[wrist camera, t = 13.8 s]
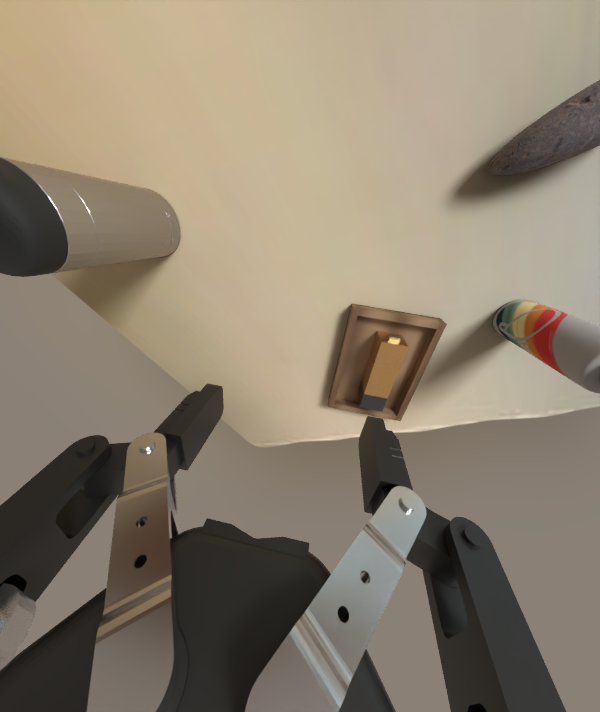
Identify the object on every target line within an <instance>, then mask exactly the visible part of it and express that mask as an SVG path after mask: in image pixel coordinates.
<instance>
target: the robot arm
mask: <svg viewBox="0 0 600 712" xmlns="http://www.w3.org/2000/svg"><path fill="white" fill-rule="evenodd" d="M179 240H180V227H179V222H178V219H177V216H176V214H175V212H174V210H173V209H172V207H171V206H170V204H169V203H168V202H167V201H166V200H165V199H164V198H163V197H162V196H161V195H159V194H158V193H156V192H154V191H152V190H149V189H145V188H140V187H136V186H131V185H127V184H122V183H118V182H113V181H109V180H104V179H100V178H95V177H90V176H86V175H81V174H77V173H72V172H68V171H63V170H59V169H54V168H49V167H45V166H40V165H36V164H30V163H26V162H21V161H16V160H12V159H7V158H3V157H0V273H3V274H7V275H11V276H22V277H24V276H36V275H42V274H49V273H56V272H63V271H70V270H76V269H82V268H89V267H96V266H103V265H110V264H116V263H123V262H130V261H137V260H144V259H151V258H158V257H165V256H168V255H170V254H172V253H173V252H174V251H175V250H176V248H177V246H178V244H179ZM222 413H223V389H222V386H218V385H213V384H207V385H205V387H204V388H203V389H202V390H201V391H200V392H199V391H195V392H193V393H191V394H190V395H188V396H187V397H186V398H185V399H184V400H183V401H182V402H181V404H179V405H178V406H177V408H175V410H174V411H173V412H172V413H171V414H170V415H169V416H168V417H167V418H166V419H165V420H164V422H163V423H162V424H161V425H160V426H159V427H158V428H157V429H156V430H155V431H154V432H153V433H147V434H144V435H142V436H140V437H138V438H136V439H135V440H134V441H132V442H131V443H117V444H109V442H108V440H107V438H105V437H104V436H100V435H95V436H89V437H86V438H83V439H80V440H79V441H77V442H75V443H73V444H72V445H71V446H69V447H68V448H67V449H66V450H65V451H64V452H62V453H61V454H60V455H59V456H58V457H57V458H55V459H54V460H53V461H52V462H51V463H50V464H48V465H47V466H46V467H45V468H44V469H43V470H41V471H40V472H39V473H38V474H37V475H36V476H34V477H33V478H32V479H31V480H30V481H29V482H27V483H26V484H25V485H24V486H23V487H22V488H20V489H19V490H18V491H17V492H16V493H15V494H13V495H12V496H11V497H10V498H9V499H8V500H7V501H5V502H4V503H3V504H2V505H1V506H0V712H396V711H395V709H394V707H393V705H392V703H391V701H390V699H389V696H388V694H387V692H386V690H385V688H384V686H383V683H382V682H381V679H380V677H379V675H378V673H377V671H376V668H375V666H374V664H373V662H372V660H371V658H370V656H369V654H368V651H367V649H366V648H367V646H368V643H369V641H370V639H371V637H372V635H373V633H374V631H375V629H376V627H377V625H378V622H379V620H380V618H381V616H382V614H383V612H384V610H385V608H386V606H387V603H388V601H389V599H390V597H391V595H392V593H393V591H394V588H395V587H396V585H397V582H398V580H399V578H400V576H401V574H402V572H403V569H404V567H405V560H406V559H407V560H408V561H410V562H411V563H413V564H415V565H416V566H418V567H419V568H421V569H422V570H423V575H424V579H425V584H426V589H427V594H428V599H429V604H430V609H431V614H432V619H433V624H434V629H435V634H436V639H437V644H438V649H439V654H440V659H441V664H442V669H443V674H444V679H445V684H446V689H447V694H448V699H449V704H450V709H451V712H566V710H565V708H564V706H563V703H562V701H561V699H560V697H559V694H558V692H557V690H556V688H555V685H554V683H553V681H552V679H551V676H550V674H549V672H548V669H547V667H546V665H545V663H544V660H543V659H542V656H541V654H540V651H539V649H538V647H537V645H536V642H535V640H534V638H533V636H532V633H531V631H530V629H529V626H528V624H527V622H526V620H525V617H524V615H523V613H522V611H521V608H520V606H519V604H518V602H517V599H516V597H515V595H514V593H513V590H512V588H511V586H510V583H509V581H508V579H507V577H506V574H505V572H504V570H503V568H502V566H501V563H500V561H499V559H498V556H497V554H496V552H495V550H494V547H493V545H492V543H491V541H490V539H489V538H488V536H487V535H486V534H485V532H484V531H483V530H482V529H481V528H480V527H479V526H477V525H476V524H475V523H473V522H472V521H470V520H468V519H466V518H463V517H455V518H453V519H452V520H451V521H449V520H447V519H445V518H443V517H442V516H440V515H438V514H436V513H434V512H432V511H431V510H429V509H428V508H426V507H425V505H424V503H423V501H422V500H421V499H420V497H419V496H418V495H417V494H416V493H415V492H413V489H412V486H411V483H410V479H409V475H408V472H407V468H406V465H405V462H404V459H403V454H402V452H401V447H400V444H399V440H398V439H397V438H396V436H395V435H394V433H393V432H392V431H388V430H386V428H385V424H384V420H383V419H380V418H375V417H370V416H368V417H367V419H366V421H365V424H364V427H363V429H362V432H361V435H360V438H359V456H360V467H361V478H362V488H363V500H364V510H365V512H367V513H372V515H373V517H372V519H371V520H370V521H369V523H368V524H367V525H366V526H365V527H364V528H363V530H362V531H361V533H360V534H359V535H358V537H357V538H356V540H355V541H354V542H353V544H352V545H351V547H350V548H349V550H348V551H347V552H346V554H345V555H344V557H343V558H342V560H341V561H340V562H339V564H338V565H337V567H336V568H335V570H334V571H333V572H332V574H330V572H329V571H328V569H327V568H326V567H325V566H324V564H323V563H322V562H321V561H320V560H319V559H318V558H316V557H315V556H314V555H313V554H311V553H310V552H308V549H309V543H307V542H303V541H298V540H294V539H290V538H286V537H275V538H261V539H255V538H253V537H251V536H249V535H248V534H246V533H245V532H243V531H241V530H240V529H238V528H237V527H235V526H233V525H232V524H228V523H223V522H220V521H216V520H211V519H207V520H206V522H205V524H204V526H203V527H197V528H193V529H190V530H187V531H184V532H182V533H181V532H180V524H179V518H178V509H177V497H176V485H175V477H174V476H175V474H176V473H177V471H178V470H179V469H183V470H188V469H189V467H190V465H191V464H192V462H193V461H194V459H195V458H196V456H197V454H198V453H199V451H200V450H201V448H202V446H203V445H204V443H205V442H206V440H207V439H208V437H209V435H210V434H211V432H212V430H213V429H214V427H215V425H216V424H217V423H218V421H219V419H220V418H221V416H222ZM117 495H118V498H117V503H116V511H115V519H114V529H113V537H112V545H111V553H110V562H109V570H108V580H107V588H105V589H104V590H103V591H101V592H100V593H99V594H97V595H96V596H95V597H93V598H92V599H91V600H89V601H88V602H87V603H86V604H84V605H83V606H82V607H80V608H79V609H78V610H76V611H75V612H74V613H72V614H71V615H70V616H68V617H67V618H66V619H64V620H63V621H62V622H60V623H59V624H58V625H56V626H55V627H54V628H52V629H51V630H50V631H49V632H47V633H46V634H45V635H43V636H42V637H41V638H39V639H38V640H37V641H35V642H34V643H33V644H31V645H30V646H29V647H27V648H26V649H25V650H23V651H22V652H21V653H20V654H18V655H17V656H16V657H15V653H16V651H17V648H18V647H19V646H20V644H21V643H22V642H23V641H24V639H25V638H26V636H27V633H28V629H29V628H30V626H31V623H32V622H33V619H34V616H35V612H36V605H35V602H36V600H37V599H38V598H39V597H40V595H41V594H42V593H43V591H44V590H45V588H47V586H48V585H49V584H50V582H51V581H52V580H53V578H54V577H55V576H56V574H57V573H58V572H59V571H60V569H61V568H62V567H63V565H64V564H65V563H66V562H67V560H68V559H69V558H70V556H71V555H72V554H73V552H74V551H75V550H76V549H77V547H78V546H79V545H80V543H81V541H83V539H84V538H85V537H86V536H87V534H88V533H89V532H90V530H91V529H92V528H93V527H94V525H95V524H96V523H97V521H98V520H99V518H100V517H101V516H102V515H103V513H104V512H105V511H106V510H107V508H108V507H109V506H110V504H111V503H112V502H113V500H114V499H115V498H116V497H117ZM14 657H15V658H14Z"/></svg>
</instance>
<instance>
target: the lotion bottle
mask: <svg viewBox="0 0 600 712" xmlns="http://www.w3.org/2000/svg"><path fill="white" fill-rule="evenodd" d="M493 326H494V329H495V330H496V331H497V332H498V333H499V334H501V335H502V336H504V337H505V338H507V339H508V340H510V341H511V342H513V343H514V344H516V345H517V346H519V347H521V348H522V349H524V350H525V351H527V352H528V353H530V354H531V355H533V356H535V357H536V358H538V359H539V360H541V361H542V362H544V363H545V364H547V365H549V366H550V367H552V368H553V369H555V370H556V371H558V372H559V373H561V374H563V375H564V376H566V377H567V378H569V379H570V380H572V381H574V382H575V383H577V384H578V385H580V386H582V387H583V388H585V389H587V390H589V391H592V392H595V393H600V326H599V325H597V324H594V323H591V322H588V321H586V320H583V319H580V318H577V317H575V316H572V315H569V314H566V313H564V312H561V311H558V310H555V309H553V308H550V307H547V306H544V305H542V304H539V303H536V302H533V301H529V300H515V301H512V302H510V303H507V304H506V305H504V306H503V307H502V308H500V309H499V310H498V312H497V313H496V314H495V316H494V319H493Z"/></svg>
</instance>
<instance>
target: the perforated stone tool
mask: <svg viewBox="0 0 600 712" xmlns="http://www.w3.org/2000/svg"><path fill="white" fill-rule="evenodd" d="M599 145H600V80H599V81H597V82H596V83H594V84H592V85H590V86H589V87H587V88H585V89H584V90H582V91H580V92H579V93H577V94H576V95H574V96H572V97H571V98H569V99H568V100H566V101H565V102H563V103H561V104H560V105H559V106H557V107H556V108H554V109H553V110H551V111H550V112H548V113H547V114H545V115H544V116H543V117H541V118H540V119H538V120H537V121H536V122H534V123H533V124H531V125H530V126H529V127H527V128H526V129H525V130H523V131H522V132H521V133H519V134H518V135H517V136H516V137H515V138H513V139H512V140H511V141H510V142H509V143H508V144H507V145H506V146H505V147H504V148H503V149H502V150H500V152H499V153H498V154H497V155H496V156H495V157H494V158H493V159H492V161H491V162H490V164H489V165H488V167H487V170H488V172H489V173H490V174H493V175H510V174H517V173H523V172H528V171H532V170H536V169H539V168H542V167H545V166H548V165H550V164H553V163H556V162H559V161H561V160H564V159H567V158H569V157H572V156H575V155H577V154H580V153H582V152H585V151H587V150H590V149H592V148H594V147H597V146H599Z"/></svg>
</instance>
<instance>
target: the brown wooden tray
mask: <svg viewBox="0 0 600 712" xmlns="http://www.w3.org/2000/svg"><path fill="white" fill-rule="evenodd" d="M446 325H447V324H446V323H445V322H444V321H442V320H441V319H440V318H434V317H428V316H422V315H416V314H410V313H404V312H398V311H392V310H387V309H381V308H375V307H369V306H363V305H357V304H352V306H351V310H350V314H349V318H348V322H347V326H346V330H345V334H344V338H343V342H342V347H341V351H340V355H339V359H338V363H337V367H336V371H335V375H334V379H333V383H332V387H331V391H330V395H329V402H328V407H333V408H338V409H343V410H348V411H353V412H358V413H363V414H368V415H373V416H378V417H383V418H388V419H393V420H398V421H401V419H402V417H403V415H404V413H405V410H406V408H407V406H408V404H409V402H410V400H411V398H412V396H413V394H414V392H415V389H416V387H417V385H418V383H419V381H420V379H421V377H422V375H423V373H424V371H425V369H426V366H427V364H428V362H429V360H430V358H431V356H432V354H433V352H434V350H435V348H436V345H437V343H438V341H439V339H440V337H441V335H442V333H443V331H444V329H445V327H446ZM377 330H378V331H384V332H389V333H395V334H401V335H402V336H403V338H404V339H405V341H406V343H407V344H408V346H409V347H408V350H407V352H406V355H405V357H404V360H403V362H402V365H401V367H400V369H399V372H398V374H397V377H396V379H395V382H394V384H393V387H392V389H391V391H390V394H389V396H388V399H387V401H386V404H385V406H384V409H383V411H382V412H381V411H376V410H371V409H366V408H361V407H359V399H358V389H359V386H360V383H361V380H362V377H363V373H364V370H365V367H366V364H367V361H368V358H369V355H370V352H371V348H372V345H373V342H374V339H375V336H376V333H377Z"/></svg>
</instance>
